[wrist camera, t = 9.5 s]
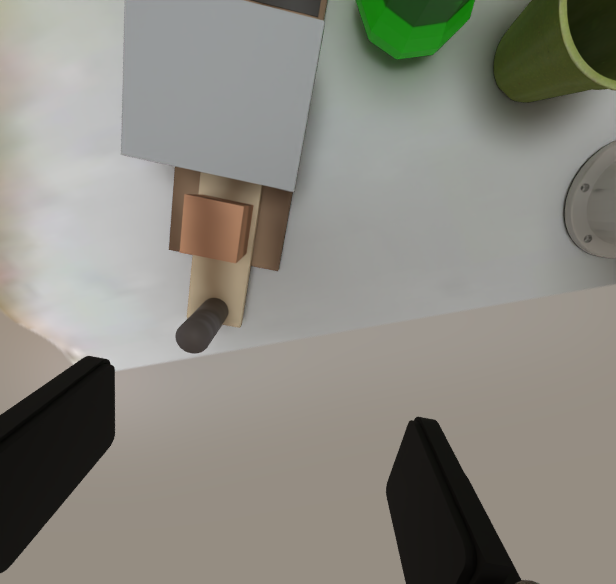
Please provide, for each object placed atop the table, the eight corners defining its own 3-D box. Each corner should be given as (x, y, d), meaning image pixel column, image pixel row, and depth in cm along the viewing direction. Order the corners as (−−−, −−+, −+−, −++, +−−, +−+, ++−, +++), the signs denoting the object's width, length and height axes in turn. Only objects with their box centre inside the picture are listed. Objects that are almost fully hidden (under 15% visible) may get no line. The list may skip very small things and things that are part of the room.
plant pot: (610, 80, 30) (781, 14, 19) (496, 152, 32) (593, 129, 21) (570, -51, 27) (746, -217, 16) (447, 36, 29) (531, -60, 18)
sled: (273, 115, 29) (262, 86, 22) (241, 324, 36) (224, 358, 28) (211, 100, 29) (176, 65, 21) (189, 314, 35) (157, 347, 28)
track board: (331, -21, 27) (332, -31, 26) (278, 268, 35) (277, 271, 34) (196, -56, 27) (191, -69, 25) (173, 247, 34) (168, 249, 33)
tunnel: (319, 71, 28) (324, 20, 20) (296, 193, 32) (293, 191, 23) (178, 37, 28) (125, -30, 20) (169, 166, 31) (120, 154, 23)
